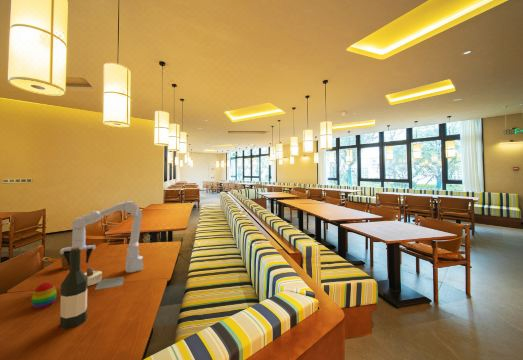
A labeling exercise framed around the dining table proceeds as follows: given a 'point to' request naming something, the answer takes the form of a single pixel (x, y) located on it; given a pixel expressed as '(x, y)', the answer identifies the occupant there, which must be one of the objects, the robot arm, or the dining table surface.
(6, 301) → the dining table surface
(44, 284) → the decorative egg
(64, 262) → the disposable coffee cup
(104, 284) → the mat
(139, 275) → the dining table surface
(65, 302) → the wine bottle
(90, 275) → the lid
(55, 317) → the dining table surface
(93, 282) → the bowl
